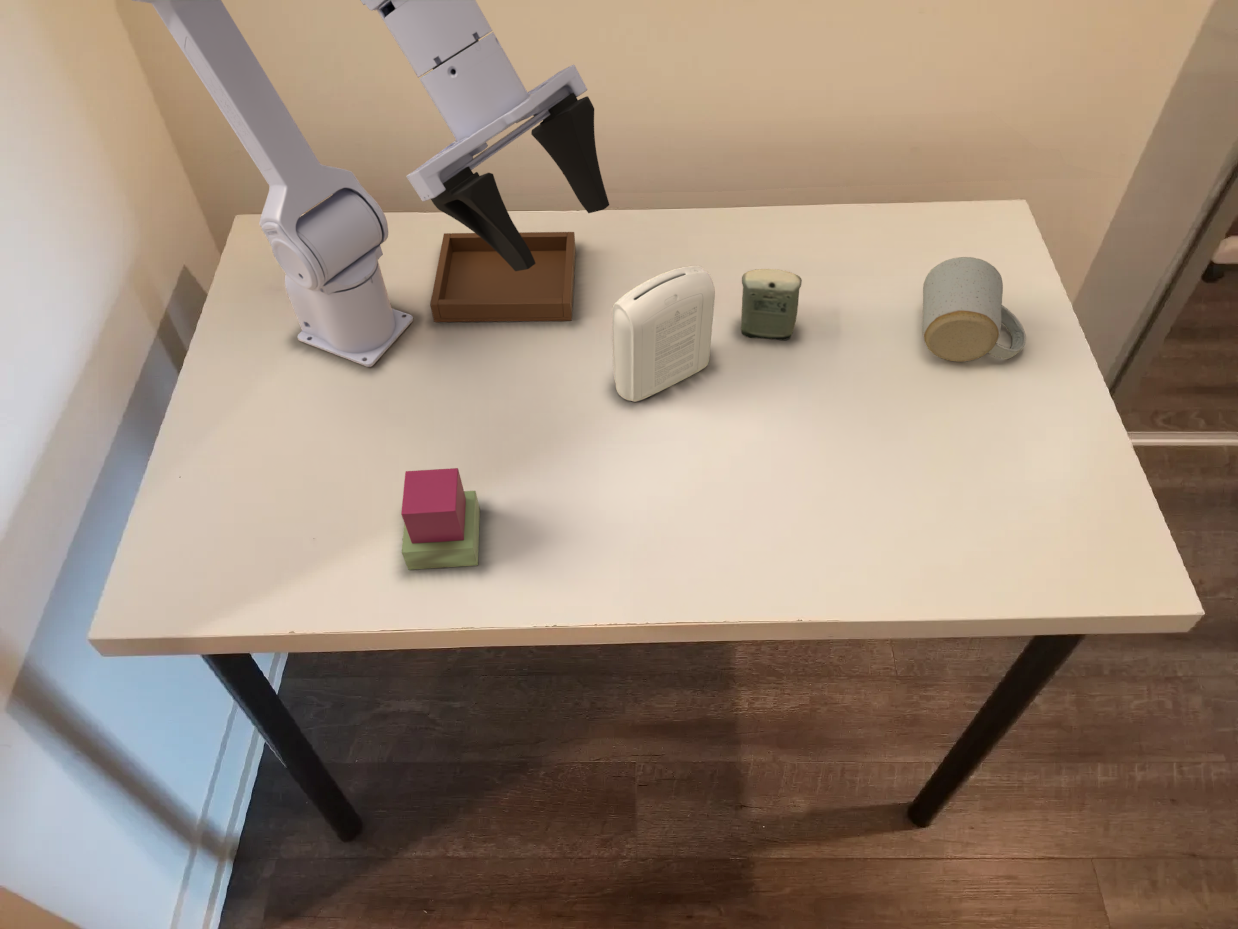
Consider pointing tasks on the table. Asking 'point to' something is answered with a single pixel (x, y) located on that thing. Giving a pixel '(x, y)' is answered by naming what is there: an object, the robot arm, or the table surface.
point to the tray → (504, 280)
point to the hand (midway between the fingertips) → (563, 237)
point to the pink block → (434, 505)
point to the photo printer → (662, 331)
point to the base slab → (447, 544)
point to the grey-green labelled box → (769, 303)
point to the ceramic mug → (967, 311)
